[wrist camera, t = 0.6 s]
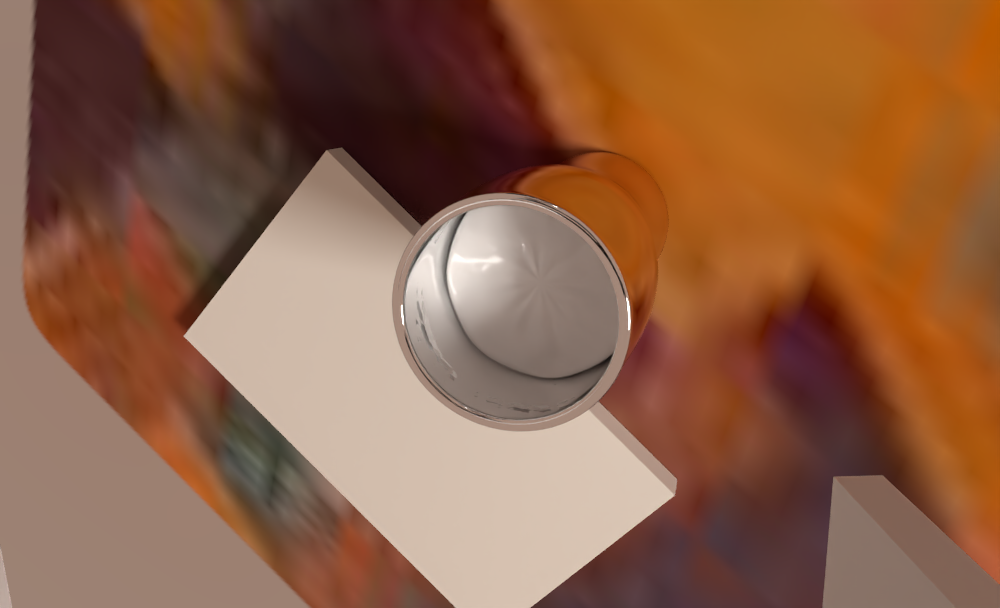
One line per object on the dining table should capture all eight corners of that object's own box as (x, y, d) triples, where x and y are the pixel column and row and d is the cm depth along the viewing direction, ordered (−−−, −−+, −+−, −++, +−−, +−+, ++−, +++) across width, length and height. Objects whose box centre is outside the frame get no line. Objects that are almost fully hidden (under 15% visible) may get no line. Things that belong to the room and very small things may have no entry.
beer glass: (495, 250, 36) (347, 355, 22) (566, 111, 34) (447, 133, 20) (628, 326, 35) (559, 485, 22) (711, 190, 33) (693, 272, 19)
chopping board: (202, 327, 42) (183, 336, 41) (342, 147, 37) (326, 150, 36) (496, 621, 42) (488, 640, 40) (677, 479, 37) (674, 495, 35)
